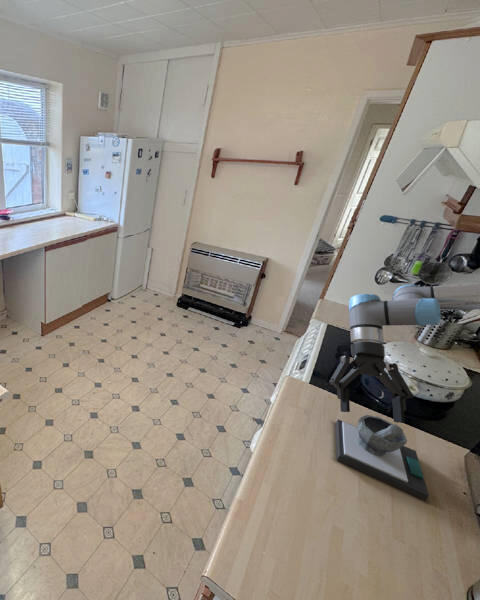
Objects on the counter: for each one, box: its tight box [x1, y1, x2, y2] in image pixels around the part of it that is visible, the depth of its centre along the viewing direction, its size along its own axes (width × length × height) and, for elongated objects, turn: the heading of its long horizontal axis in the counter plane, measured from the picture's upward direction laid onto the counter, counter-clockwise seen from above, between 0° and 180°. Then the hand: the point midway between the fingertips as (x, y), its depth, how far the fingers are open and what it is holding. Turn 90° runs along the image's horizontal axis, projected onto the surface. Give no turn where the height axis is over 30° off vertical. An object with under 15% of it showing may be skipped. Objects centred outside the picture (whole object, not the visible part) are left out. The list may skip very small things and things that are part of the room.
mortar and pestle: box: [356, 414, 408, 456], centre depth 86 cm, size 11×9×12 cm
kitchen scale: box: [334, 419, 430, 502], centre depth 88 cm, size 18×16×3 cm
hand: (371, 417), depth 91 cm, fingers open, 13 cm apart
